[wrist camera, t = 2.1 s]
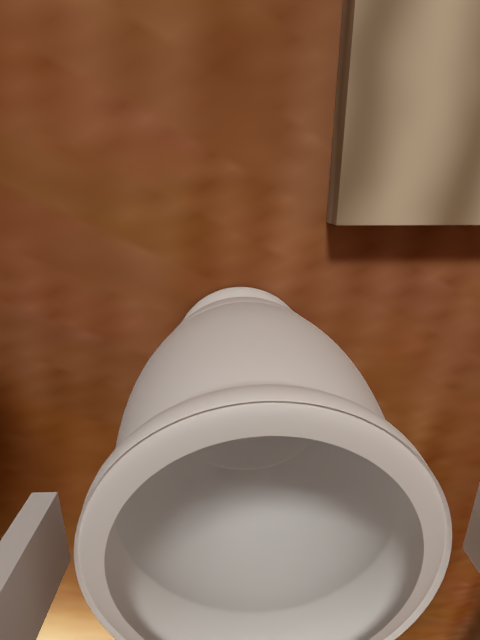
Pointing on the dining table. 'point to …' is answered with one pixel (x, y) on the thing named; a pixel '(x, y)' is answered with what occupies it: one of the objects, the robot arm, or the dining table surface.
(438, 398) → the dining table surface
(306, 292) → the dining table surface
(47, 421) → the dining table surface
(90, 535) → the jar
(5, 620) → the robot arm
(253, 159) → the dining table surface
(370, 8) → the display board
